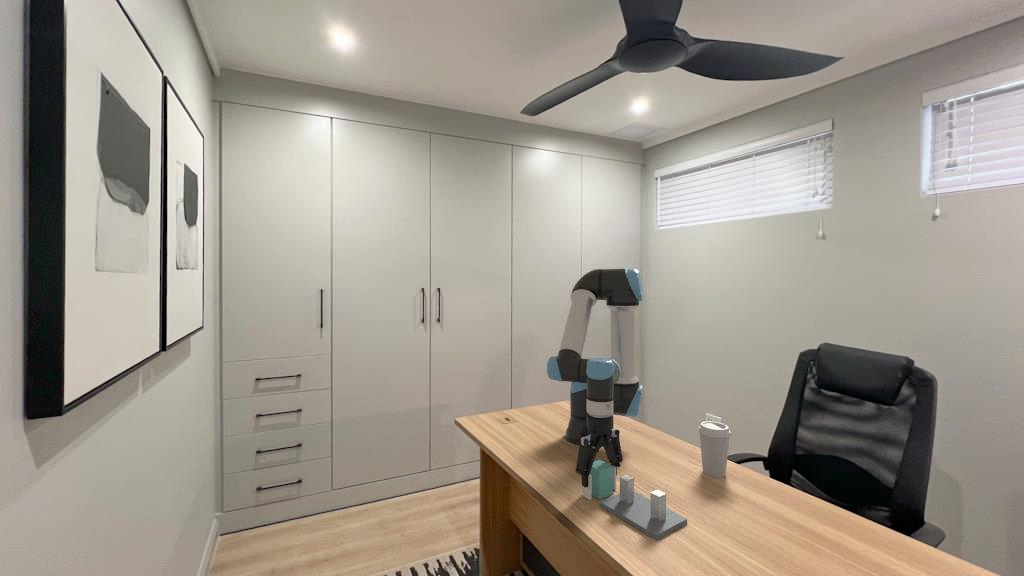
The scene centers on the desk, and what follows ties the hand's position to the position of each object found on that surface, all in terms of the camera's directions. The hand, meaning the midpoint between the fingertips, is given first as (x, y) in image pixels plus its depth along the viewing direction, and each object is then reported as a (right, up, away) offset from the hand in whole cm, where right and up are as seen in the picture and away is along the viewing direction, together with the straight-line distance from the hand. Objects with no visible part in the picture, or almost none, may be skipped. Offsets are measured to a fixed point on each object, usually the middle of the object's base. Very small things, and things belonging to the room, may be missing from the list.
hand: (599, 492), depth 121 cm
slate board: (+9, 0, -11) cm, 14 cm away
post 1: (+6, +1, -7) cm, 9 cm away
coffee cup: (+38, 0, +13) cm, 40 cm away
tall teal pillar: (0, 0, 0) cm, 0 cm away
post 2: (+11, +1, -15) cm, 19 cm away
